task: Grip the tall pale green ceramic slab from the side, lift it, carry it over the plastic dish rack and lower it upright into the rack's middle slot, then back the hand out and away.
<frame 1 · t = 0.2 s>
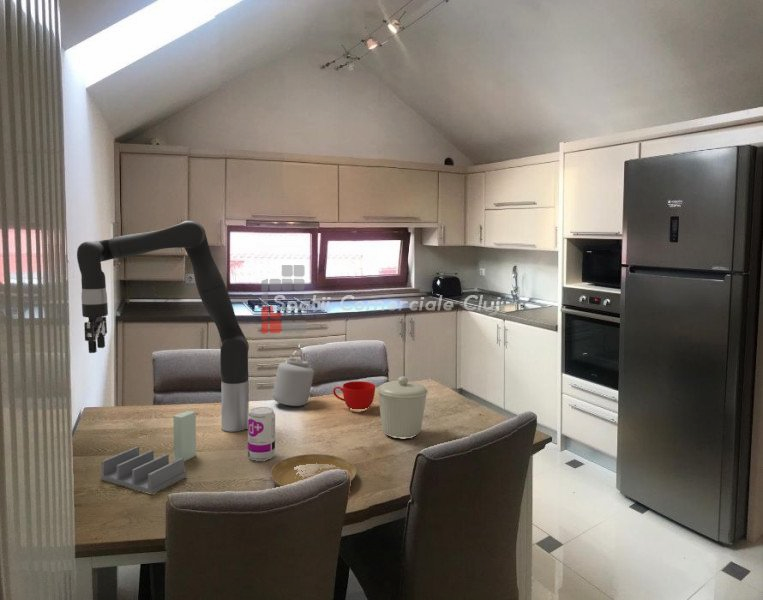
hand: (97, 350, 179), 29 cm above the table, tool pointing down, fingers open, 8 cm apart
dish rack: (143, 478, 151), on the table
green slab: (185, 457, 165), on the table
ceramic cup: (353, 409, 216), on the table
jar: (295, 404, 220), on the table
canister: (401, 435, 190), on the table
plant saucer: (313, 481, 153), on the table
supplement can: (261, 457, 168), on the table
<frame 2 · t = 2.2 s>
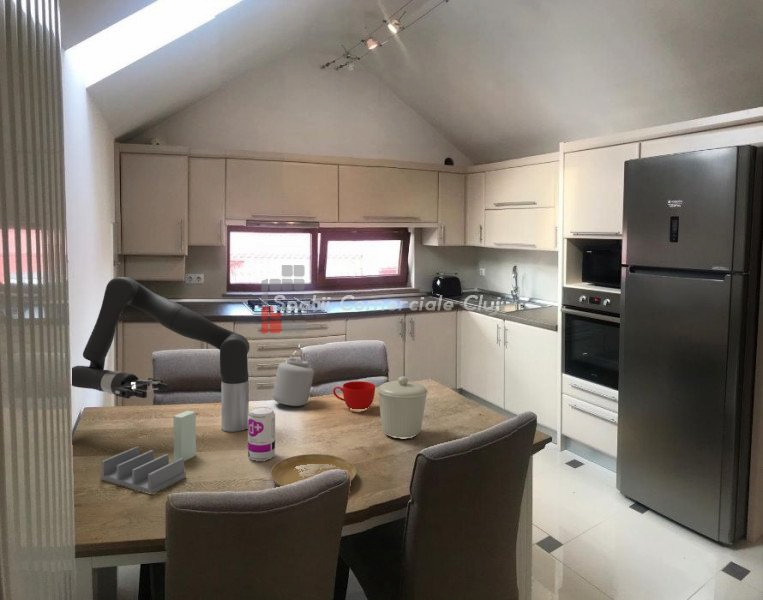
hand: (157, 391, 167), 19 cm above the table, tool horizontal, fingers open, 8 cm apart
nothing on the table moved.
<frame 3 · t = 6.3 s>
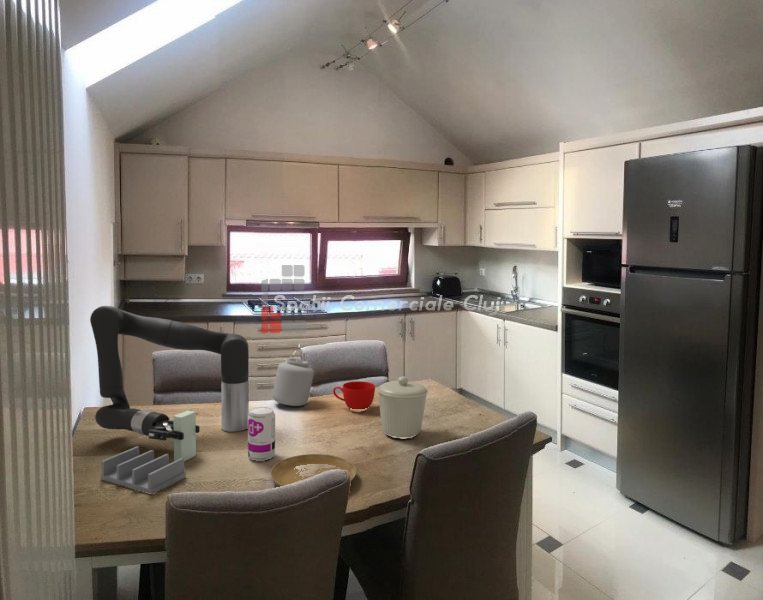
hand: (190, 432, 163), 8 cm above the table, tool horizontal, fingers closed on green slab, 6 cm apart
green slab: (185, 457, 165), on the table, touching gripper
everything else where it was.
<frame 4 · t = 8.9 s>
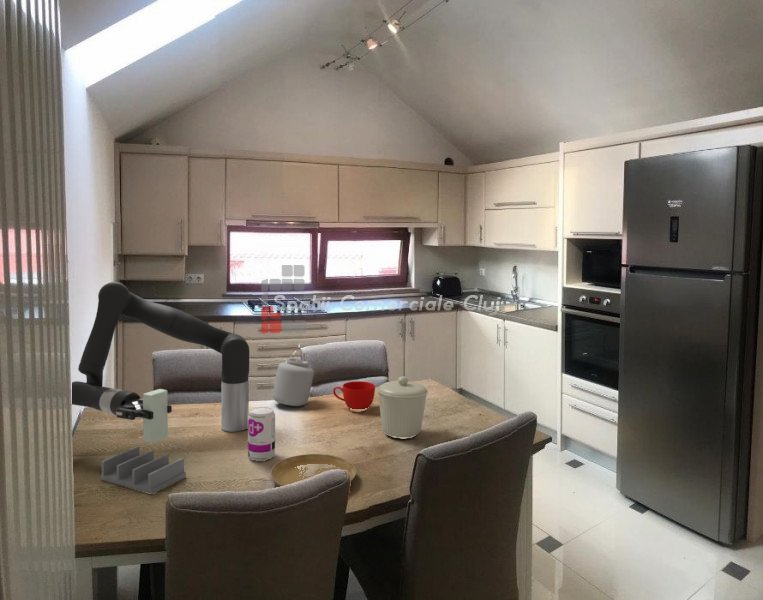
hand: (161, 412, 152), 18 cm above the table, tool horizontal, fingers closed on green slab, 6 cm apart
green slab: (155, 439, 154), point 10 cm above the table, touching gripper
everything else where it was.
when the fingers open (11 cm above the table, at t = 11.6 s): green slab stays where it is, resting on dish rack.
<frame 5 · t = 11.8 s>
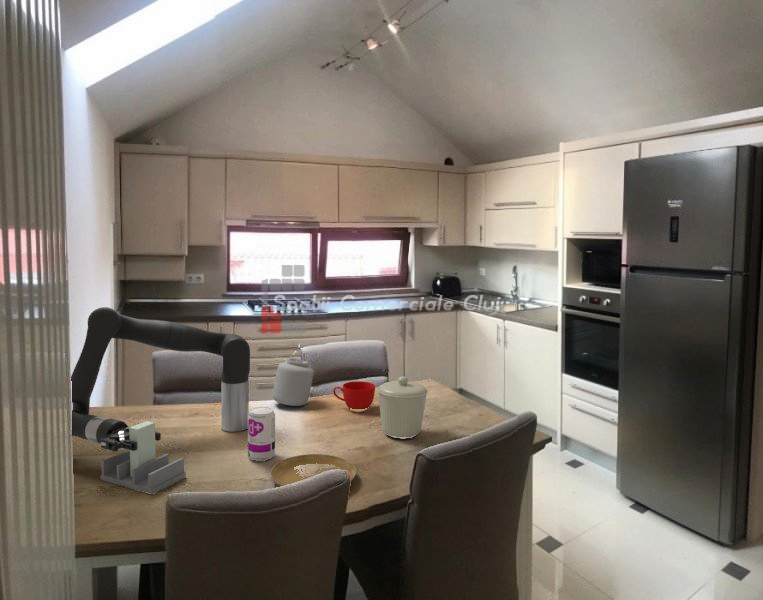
hand: (148, 441, 149), 11 cm above the table, tool horizontal, fingers open, 8 cm apart
green slab: (143, 473, 150), point 1 cm above the table, touching dish rack
everything else where it was.
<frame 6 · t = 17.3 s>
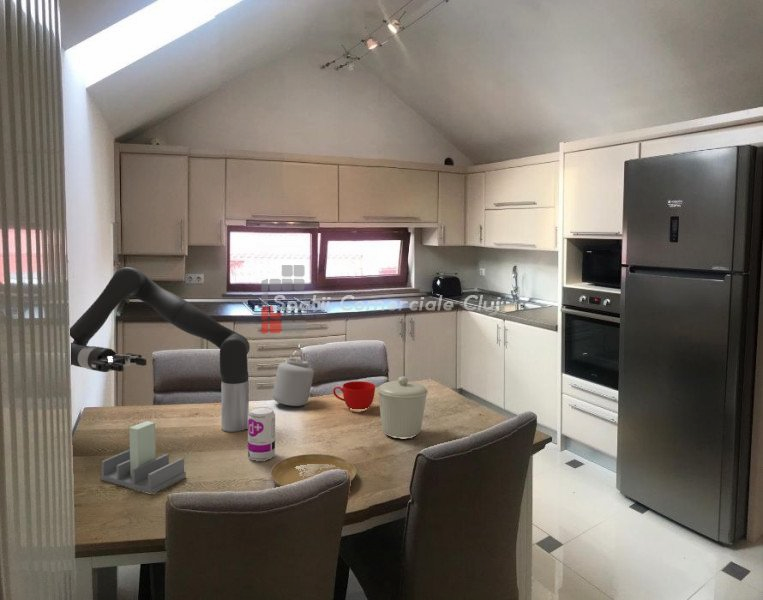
hand: (134, 365, 165), 28 cm above the table, tool horizontal, fingers open, 8 cm apart
nothing on the table moved.
at the end: green slab 0.1 cm off-centre on the dish rack, point 1.5 cm above the dish rack's base; green slab tilted 0°; the gripper is holding nothing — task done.
